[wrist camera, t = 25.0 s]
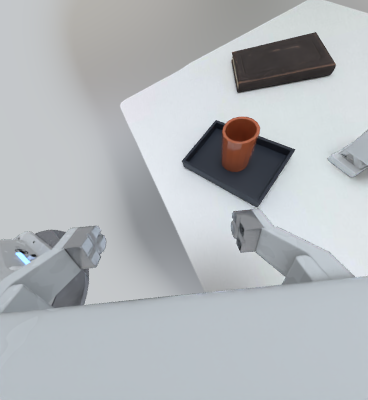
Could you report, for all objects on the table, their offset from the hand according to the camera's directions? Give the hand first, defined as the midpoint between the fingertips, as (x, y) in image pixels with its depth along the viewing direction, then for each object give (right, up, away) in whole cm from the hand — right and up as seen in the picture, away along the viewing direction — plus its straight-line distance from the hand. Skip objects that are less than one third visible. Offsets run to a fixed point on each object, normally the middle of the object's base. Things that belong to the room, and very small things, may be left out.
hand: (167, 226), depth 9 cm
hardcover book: (+28, +40, +35) cm, 60 cm away
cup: (+13, +11, +25) cm, 30 cm away
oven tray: (+13, +11, +26) cm, 31 cm away
